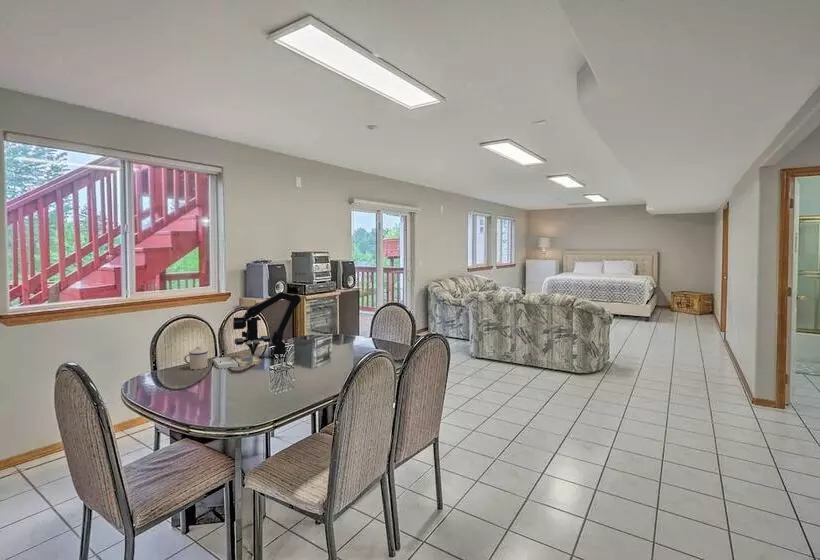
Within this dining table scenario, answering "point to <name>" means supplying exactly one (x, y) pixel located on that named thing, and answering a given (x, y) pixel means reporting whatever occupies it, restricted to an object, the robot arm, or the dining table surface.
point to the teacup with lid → (197, 358)
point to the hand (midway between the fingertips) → (252, 354)
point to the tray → (225, 362)
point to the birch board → (255, 361)
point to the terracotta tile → (242, 355)
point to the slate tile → (246, 358)
